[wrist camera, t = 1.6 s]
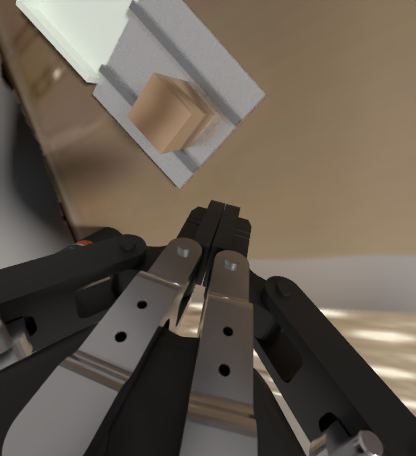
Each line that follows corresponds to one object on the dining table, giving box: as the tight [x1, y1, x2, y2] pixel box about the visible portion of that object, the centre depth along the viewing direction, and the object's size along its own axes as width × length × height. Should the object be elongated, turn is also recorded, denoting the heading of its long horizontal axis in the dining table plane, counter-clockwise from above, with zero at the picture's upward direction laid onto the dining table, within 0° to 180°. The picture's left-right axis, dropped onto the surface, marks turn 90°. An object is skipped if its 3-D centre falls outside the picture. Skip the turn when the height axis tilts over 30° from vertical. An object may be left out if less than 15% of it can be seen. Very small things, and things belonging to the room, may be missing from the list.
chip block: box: [127, 72, 216, 154], centre depth 33 cm, size 6×6×8 cm
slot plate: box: [93, 0, 267, 189], centre depth 36 cm, size 20×18×2 cm
